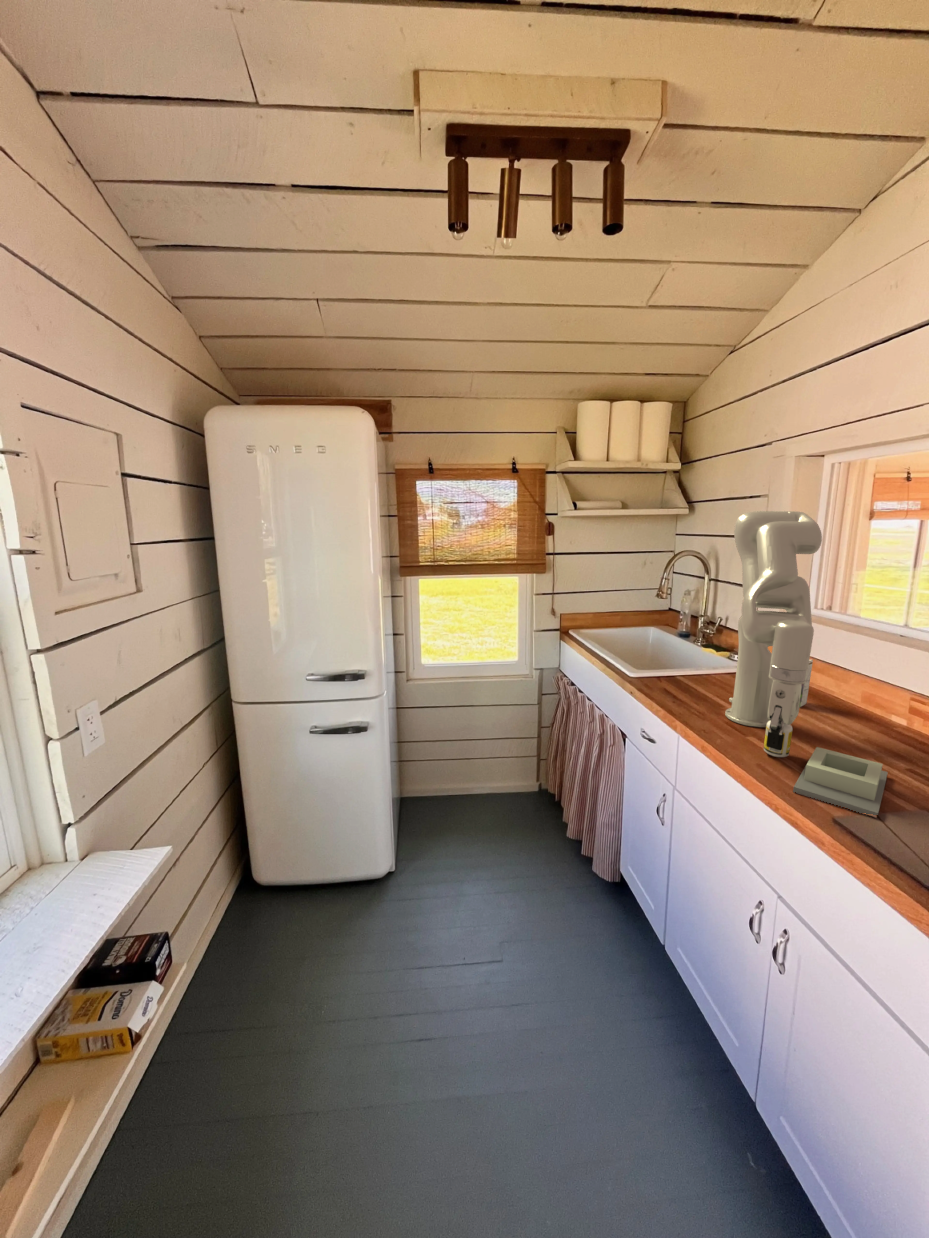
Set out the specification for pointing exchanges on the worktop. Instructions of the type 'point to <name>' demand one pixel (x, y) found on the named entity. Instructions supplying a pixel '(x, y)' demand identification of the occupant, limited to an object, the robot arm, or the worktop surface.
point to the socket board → (841, 795)
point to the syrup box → (806, 686)
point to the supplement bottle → (786, 741)
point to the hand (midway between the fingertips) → (777, 742)
